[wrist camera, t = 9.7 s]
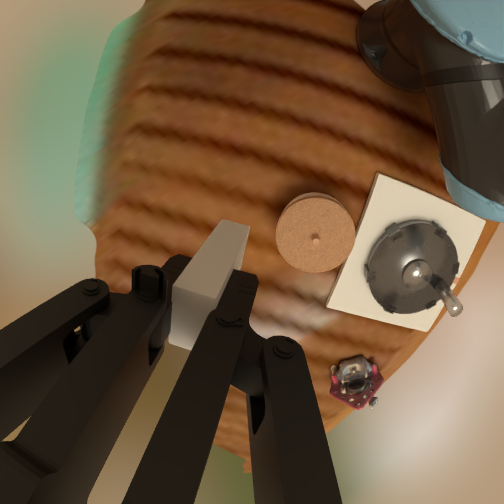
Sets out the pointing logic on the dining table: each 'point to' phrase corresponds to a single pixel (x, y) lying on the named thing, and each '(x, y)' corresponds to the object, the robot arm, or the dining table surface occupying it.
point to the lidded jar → (315, 233)
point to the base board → (373, 226)
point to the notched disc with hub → (413, 268)
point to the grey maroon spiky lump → (356, 383)
